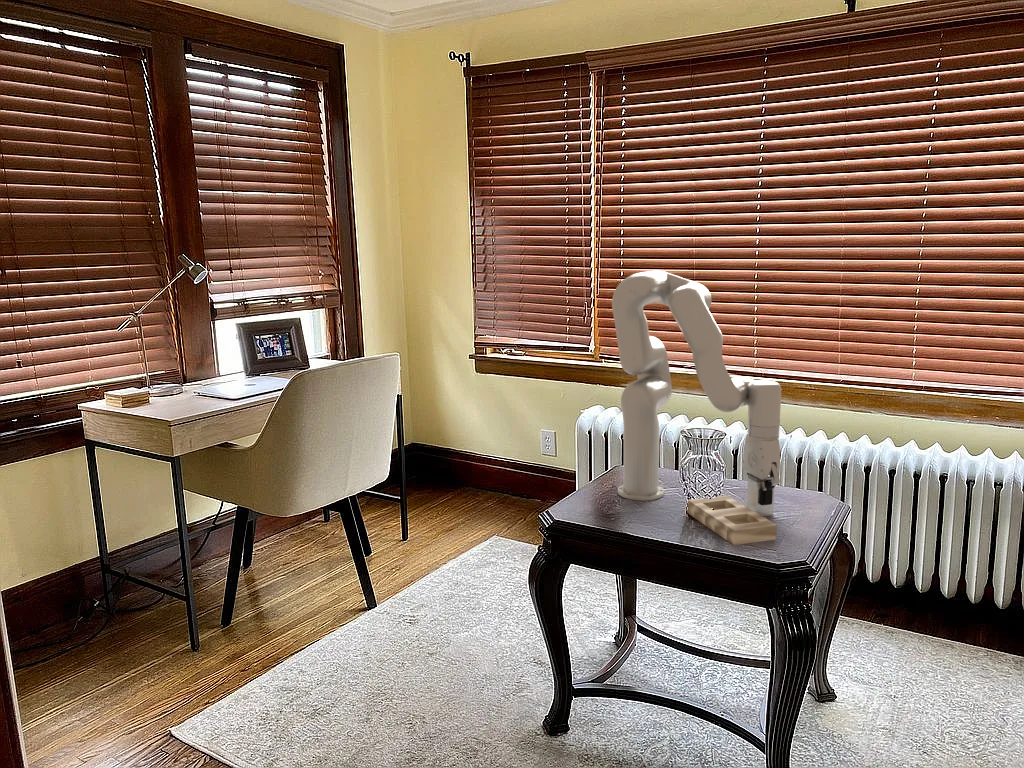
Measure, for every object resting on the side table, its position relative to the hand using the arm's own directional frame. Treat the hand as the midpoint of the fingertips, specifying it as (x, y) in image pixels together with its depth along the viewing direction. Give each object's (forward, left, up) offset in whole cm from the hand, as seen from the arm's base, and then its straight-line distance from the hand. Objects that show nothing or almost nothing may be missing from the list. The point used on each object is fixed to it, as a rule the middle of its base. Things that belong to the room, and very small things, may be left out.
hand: (760, 500), depth 201 cm
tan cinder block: (+5, -11, -3) cm, 13 cm away
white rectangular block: (0, 0, -3) cm, 3 cm away
